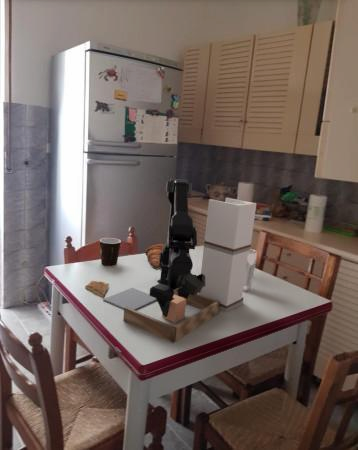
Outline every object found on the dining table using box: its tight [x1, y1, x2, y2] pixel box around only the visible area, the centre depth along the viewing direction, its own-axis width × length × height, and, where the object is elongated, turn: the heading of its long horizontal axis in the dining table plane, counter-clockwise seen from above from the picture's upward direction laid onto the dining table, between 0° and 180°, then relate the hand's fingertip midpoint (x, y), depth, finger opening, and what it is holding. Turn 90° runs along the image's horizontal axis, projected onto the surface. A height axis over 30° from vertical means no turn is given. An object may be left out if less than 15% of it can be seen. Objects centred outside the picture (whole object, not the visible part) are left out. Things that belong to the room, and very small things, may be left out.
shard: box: [84, 280, 110, 298], centre depth 129 cm, size 11×8×2 cm
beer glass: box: [243, 248, 258, 292], centre depth 142 cm, size 7×7×15 cm
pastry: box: [145, 243, 165, 270], centre depth 166 cm, size 17×15×8 cm
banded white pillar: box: [198, 197, 257, 313], centre depth 126 cm, size 11×11×35 cm
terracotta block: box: [161, 295, 187, 323], centre depth 114 cm, size 5×5×6 cm
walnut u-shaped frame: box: [123, 290, 220, 344], centre depth 115 cm, size 25×18×4 cm
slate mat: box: [102, 287, 157, 311], centre depth 124 cm, size 14×12×1 cm
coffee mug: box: [99, 237, 122, 267], centre depth 155 cm, size 12×9×10 cm
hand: (173, 312), depth 115 cm, fingers open, 8 cm apart
